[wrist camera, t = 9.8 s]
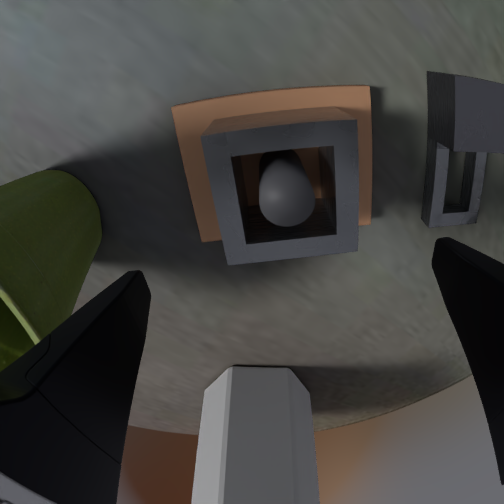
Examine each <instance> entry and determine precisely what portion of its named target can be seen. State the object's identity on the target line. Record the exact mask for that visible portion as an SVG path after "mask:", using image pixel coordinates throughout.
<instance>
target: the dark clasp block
mask: <svg viewBox="0 0 504 504" xmlns="http://www.w3.org/2000/svg"><path fill="white" fill-rule="evenodd" d="M427 90H428V138H427V161H426V175H425V187H424V198H423V207H422V215H421V219H422V220H423V221H424V223H425V224H426V225H427V226H428V227H429V228H430V227H440V226H451V225H461V224H471V223H476V221H477V216H478V211H479V205H480V200H481V194H482V187H483V181H484V173H485V165H486V156H487V152H488V153H504V84H501V83H496V82H492V81H488V80H483V79H478V78H473V77H467V76H461V75H454V74H447V73H439V72H431V71H427ZM449 149H450V150H452V151H460V152H466V157H465V167H464V176H463V184H462V192H461V199H460V204H448V205H444V198H445V190H446V182H447V172H448V160H449Z"/></svg>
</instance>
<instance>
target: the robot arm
mask: <svg viewBox="0 0 504 504" xmlns="http://www.w3.org/2000/svg"><path fill="white" fill-rule="evenodd" d="M432 268H433V271H434V274H435V277H436V279H437V282H438V285H439V288H440V291H441V294H442V297H443V300H444V303H445V305H446V308H447V310H448V313H449V315H450V317H451V320H452V322H453V324H454V327H455V329H456V332H457V334H458V336H459V339H460V341H461V344H462V347H463V349H464V352H465V354H466V357H467V360H468V362H469V365H470V368H471V371H472V374H473V376H474V379H475V382H476V385H477V388H478V391H479V395H480V398H481V401H482V404H483V407H484V411H485V414H486V418H487V422H488V424H489V430H490V434H491V438H492V442H493V446H494V450H495V455H496V459H497V464H498V470H499V475H500V480H501V484H502V485H504V264H503V263H501V262H499V261H497V260H495V259H493V258H491V257H489V256H487V255H485V254H483V253H481V252H479V251H477V250H475V249H473V248H471V247H469V246H467V245H465V244H462V243H460V242H458V241H456V240H454V239H452V238H450V237H443V238H438V239H437V240H436V242H435V247H434V252H433V257H432ZM150 301H151V293H150V290H149V287H148V285H147V282H146V280H145V277H144V275H143V273H142V271H140V270H135V271H128V272H127V273H125V274H124V275H123V276H121V277H120V278H119V279H117V280H116V281H115V282H113V283H112V284H111V285H110V286H108V287H107V288H106V289H104V290H103V291H102V292H100V293H99V294H98V295H97V296H95V297H94V298H93V299H91V300H90V301H89V302H88V303H86V304H85V305H84V306H83V307H81V308H80V309H79V310H78V311H76V312H75V313H74V314H73V315H71V316H70V317H69V318H68V319H66V320H65V321H64V322H63V323H61V324H60V325H59V326H58V327H57V328H55V329H54V330H53V331H52V332H51V334H48V335H47V336H46V337H44V338H43V339H42V340H41V341H39V342H38V343H37V344H36V345H35V346H33V347H32V348H31V349H30V350H28V351H27V352H26V353H24V354H23V355H22V356H21V357H19V358H18V359H17V360H15V361H14V362H13V363H11V364H10V365H9V366H7V367H6V368H5V369H3V370H2V371H1V372H0V504H116V502H117V493H118V486H119V478H120V470H121V462H122V455H123V450H124V443H125V437H126V431H127V426H128V420H129V415H130V410H131V404H132V399H133V394H134V389H135V384H136V380H137V375H138V370H139V366H140V361H141V357H142V353H143V348H144V344H145V339H146V332H147V324H148V316H149V309H150Z"/></svg>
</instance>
